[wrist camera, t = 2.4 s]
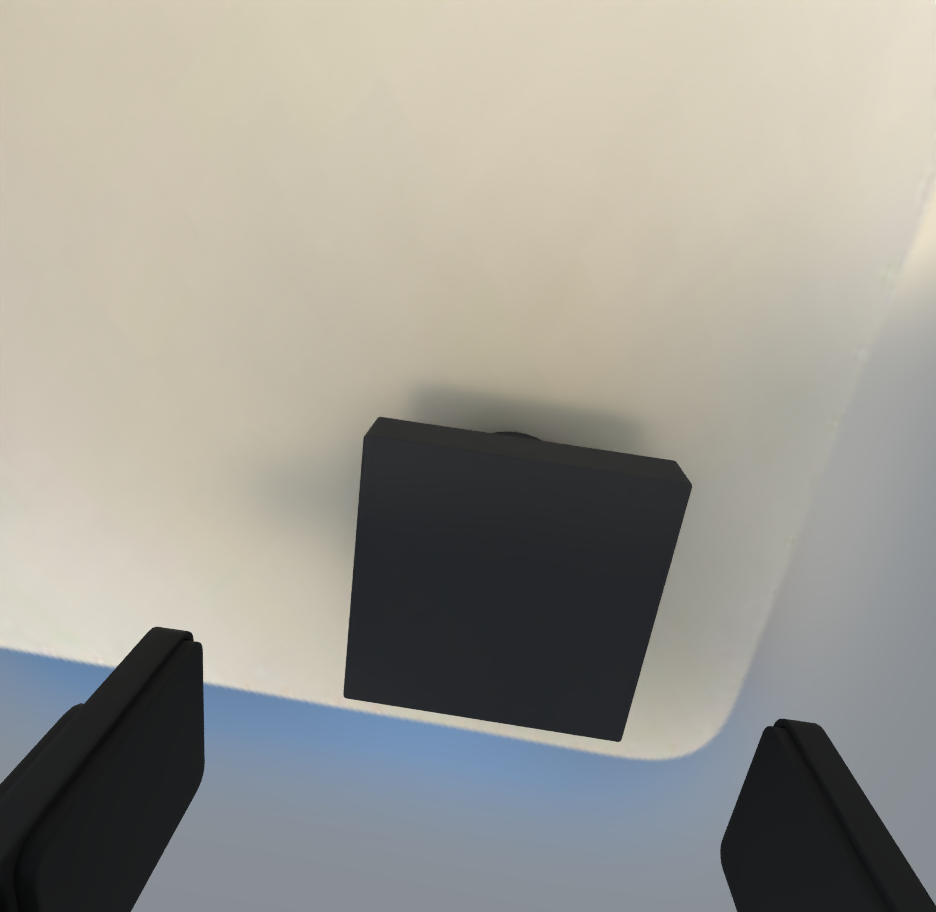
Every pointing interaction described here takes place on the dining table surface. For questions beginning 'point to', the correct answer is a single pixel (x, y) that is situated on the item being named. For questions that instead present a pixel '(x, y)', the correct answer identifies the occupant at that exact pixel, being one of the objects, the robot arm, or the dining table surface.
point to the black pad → (507, 575)
